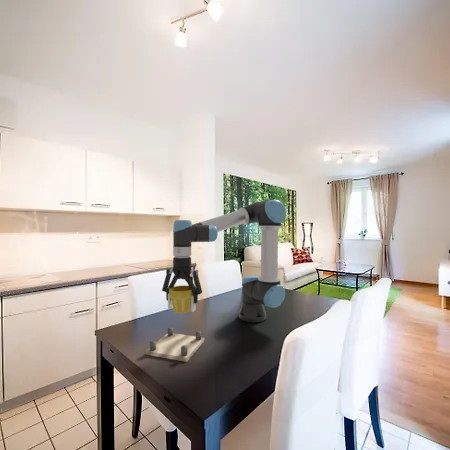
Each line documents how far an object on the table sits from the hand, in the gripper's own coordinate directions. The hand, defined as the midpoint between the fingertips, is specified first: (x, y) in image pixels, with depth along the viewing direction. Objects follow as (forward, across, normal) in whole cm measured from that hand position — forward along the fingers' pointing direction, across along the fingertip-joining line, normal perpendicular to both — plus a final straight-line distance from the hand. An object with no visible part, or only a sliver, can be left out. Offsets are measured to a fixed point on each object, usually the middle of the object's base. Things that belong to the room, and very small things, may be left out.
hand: (181, 309), depth 106 cm
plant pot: (+1, 0, 0) cm, 1 cm away
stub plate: (+16, -2, 0) cm, 16 cm away
